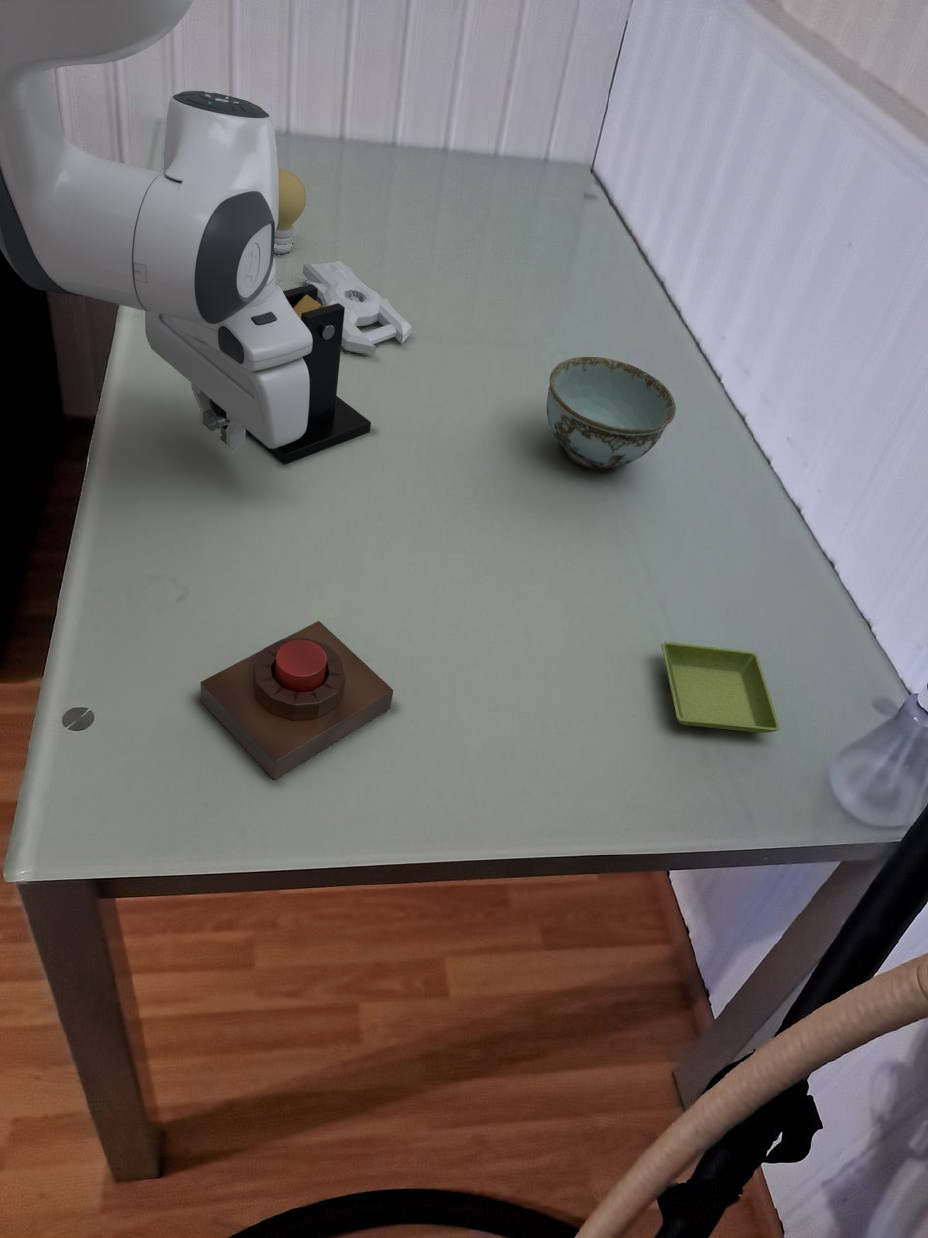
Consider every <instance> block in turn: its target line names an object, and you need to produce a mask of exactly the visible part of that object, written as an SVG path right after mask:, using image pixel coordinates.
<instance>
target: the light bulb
mask: <svg viewBox="0 0 928 1238" xmlns="http://www.w3.org/2000/svg"><path fill="white" fill-rule="evenodd" d="M278 177H279V214H278V225H277V228H276V231H275V242H274V244H277V245H287V244H289V243H291V242H293V241H294V232H295V231H294V230H295V228H294V226H293V225H294V224H295V222H297V220H298V219H299V218H300V217H301V215H302V214H303V212H304V211H305V208H306V205H307V193H306V188H305V186H304V184H303V181H302V180H301V178H300V177H299V176H298V175H297V174H295V173H294V172H292V171H290V170H288V169H283V168H278ZM293 247H294V244H293V245H292V246H291V247H290V248H286V249H278V248H274V254H279V255H280V254H286V253H289V252H290V251H291V250H292V249H293Z"/></svg>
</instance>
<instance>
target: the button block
mask: <svg viewBox="0 0 928 1238" xmlns="http://www.w3.org/2000/svg"><path fill="white" fill-rule="evenodd" d="M293 640H307V641H311V642H313V643H315V644H317V645H319V646H320V647H321V648H322V649H323V651H324V652H325V654H326V669H325V677H324V680H323V681H322V683H321V684H320V685H319V686H318V687H316V688H315V689H313V690H310V691H305V692H296V691H292V690H289V689H287V688H285V687H283V686H282V685H281V684H280V683H279V682H278V680H277V679H276V676H275V664H276V654H277V651H278V650H279V648H280V647H281V646H282V645H284V644H285V643H287V642H290V641H293ZM199 684H200V702H201V703H202V704H203V705H204V706H205V707H206V708H207V710H208V711H210V713H211V714H212V715H213V716H214V717H215V718H216V719H217V720H218V722H219V723H220V724H222V726H223V727H224V728H225V729H226V730H227V731H228V732H229V733H230V734H231V735H232V737H233V738H234V739H236V741H238V743H239V744H240V745H241V746H242V747H243V748H244V749H245V750H246V751H247V752H248V754H249V755H250V756H251V757H252V758H253V759H254V760H255V761H256V762H257V763H258V764H259V765H260V766H261V768H262V769H263V770H264V771H265V773H267V774H268V775H269V776H270V777H271V778H272V779H273V780H274V781H276V780H277V779H279V778H281V777H282V776H284V775H285V774H287V773H288V772H290V771H292V770H293V769H295V768H297V767H298V766H300V765H301V764H303V763H305V762H306V761H308V760H309V759H312V758H313V757H315V756H316V755H317V754H319V753H320V752H322V751H324V750H326V749H327V748H329V747H330V746H332V745H333V744H335V743H337V742H339V741H340V740H342V739H344V738H345V737H347V736H349V735H350V734H351V733H353V732H355V731H356V730H358V729H360V728H361V727H363V726H364V725H366V724H367V723H369V722H371V721H372V720H374V719H375V718H377V717H379V716H380V715H382V714H384V713H385V712H386V711H388V710H390V709H391V707H392V700H393V695H394V688H392V687H391V686H390V685H389V684H388V683H387V682H386V681H385V680H384V679H382V678H381V677H380V676H379V674H377V673H376V672H375V671H374V670H373V669H371V668H370V666H368V665H367V664H366V663H365V662H364V661H363V660H362V659H361V658H360V657H359V656H357V655H356V654H355V653H354V652H353V651H352V650H351V649H350V648H349V647H348V646H347V645H346V644H345V643H344V642H342V640H341V639H339V638H338V637H337V635H335V634H334V633H333V632H332V631H331V630H330V629H329V628H328V627H326V625H325V624H323V623H322V622H321V621H320V620H317V621H315V622H313V623H311V624H309V625H307V626H306V627H304V628H302V629H300V630H298V631H296V632H294V633H292V634H290V635H288V636H286V637H284V638H281V639H279V640H277V641H275V642H273V643H272V644H269V645H268V646H266V647H264V648H262V649H261V650H259V651H257V652H256V653H255V652H254V654H252V655H250V656H248V657H246V658H243V659H242V660H239V661H238V662H236V663H234V664H233V665H230V666H228V667H227V668H224V669H223V670H221V671H219V672H217V673H215V674H213V675H211V676H209V677H207V678H205V679H203V680H202V681H200V683H199Z"/></svg>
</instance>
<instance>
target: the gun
mask: <svg viewBox="0 0 928 1238" xmlns="http://www.w3.org/2000/svg"><path fill="white" fill-rule="evenodd" d="M302 274H303V275H304V277H305V278H306V279H307V285H309V284H312V285H314V286H315V287H317V288H318V295H317V298H318V299H320V301H321V306H322V307H326V306H329V305H333V304H336V303H339V304H341V305H342V306H344V307H345V313H344V323H343V333H342V343H341V347H343V348H344V350H346V351H348V352H351V353H356V354H362V355H367V356H374V355H375V352H376V351H375V350H376V346H375V344H378V343H381V342H383V341H387V340H389V339H392V338H395V339H396V340H397V341H398V342H399V343H400V344H403V343H404V342H405V341H406V340H407V339H408V338H409V337H410V335H411V332H412V325H411V324H410V323H409V322H408V321H407V320H406V319H405V318H404V317H402V315H401V314H400V313H398V312H397V310H395V309H394V307H392V305H391V303H390V302H389V300H388V298H387V297H385V298H383V297H382V296H381V295H380V294H379V293H378V292H376V291H375V290H374V289H372V288H370V287H368V286H367V285H366V284H365V283H364V282H363V281H362V280H361V279H360V278H359V277H357V275H355V273H354V270H353V269H352V268H351V267H350V266H349V265H346V264H344V262H343V261H341V260H340V259H338V260H336V261H333V262H325V263H305V264H303V267H302ZM375 322H378V323H380V324H381V325H382V326H380V327H377V328H375V329H371V330H369V331H365V332H362V331H361V329H359V328H358V327H362V326H363V327H366V326H369V325H372V324H374V323H375Z"/></svg>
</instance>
